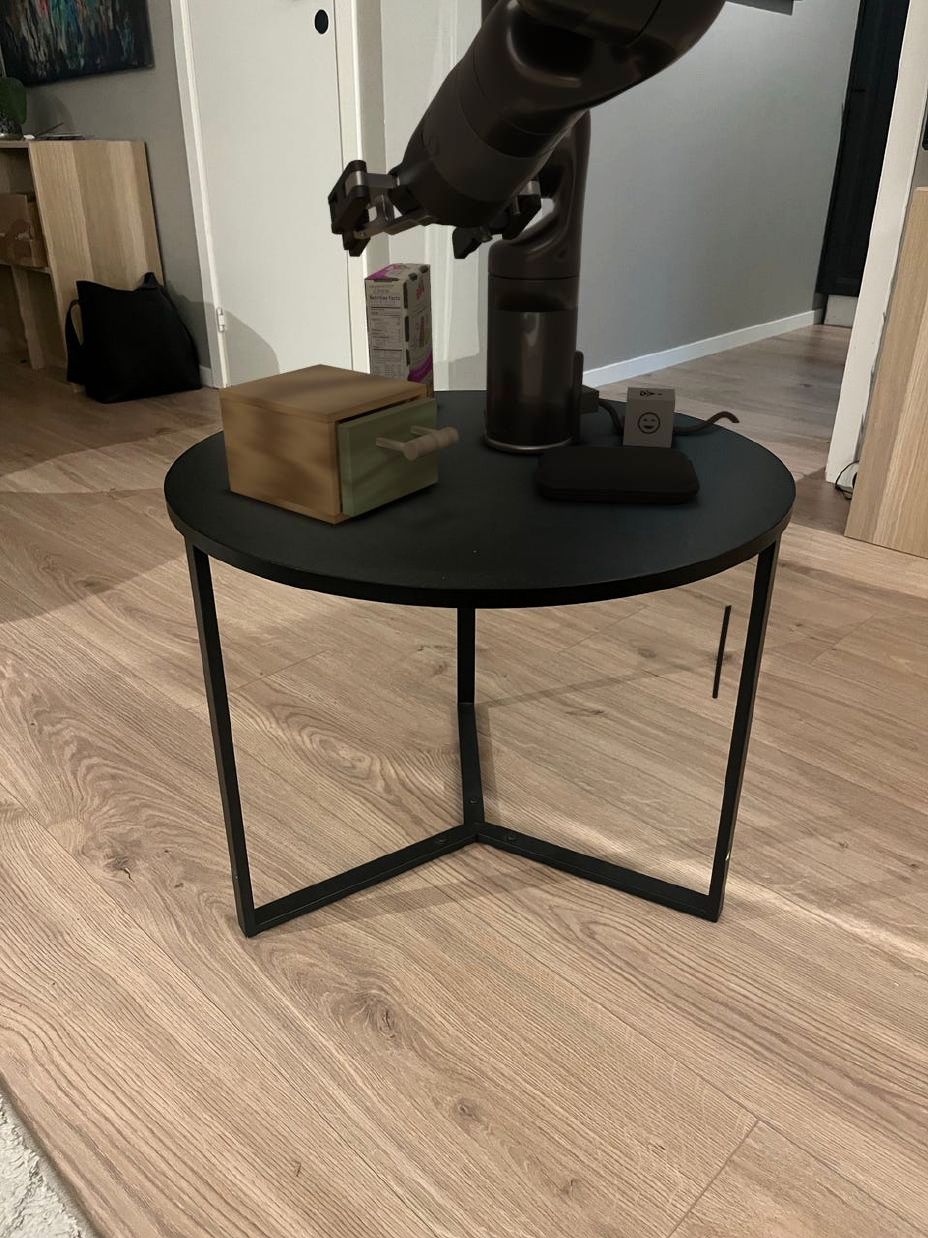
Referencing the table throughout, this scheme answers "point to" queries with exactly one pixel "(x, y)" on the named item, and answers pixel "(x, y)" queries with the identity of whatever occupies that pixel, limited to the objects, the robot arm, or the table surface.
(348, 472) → the drawer
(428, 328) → the candy bar box
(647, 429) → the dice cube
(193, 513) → the table surface
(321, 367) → the cabinet
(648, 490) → the carrying case
